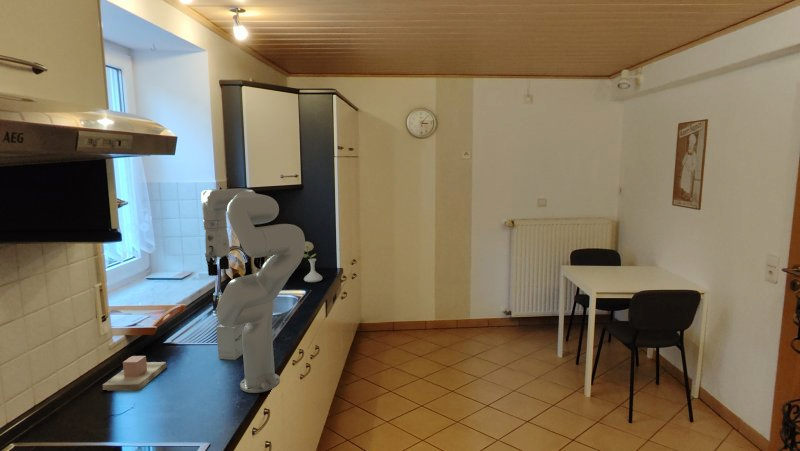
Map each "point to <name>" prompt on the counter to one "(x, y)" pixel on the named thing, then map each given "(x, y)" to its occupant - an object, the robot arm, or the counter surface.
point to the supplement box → (229, 342)
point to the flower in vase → (313, 275)
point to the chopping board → (134, 378)
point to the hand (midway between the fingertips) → (219, 272)
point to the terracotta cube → (135, 366)
